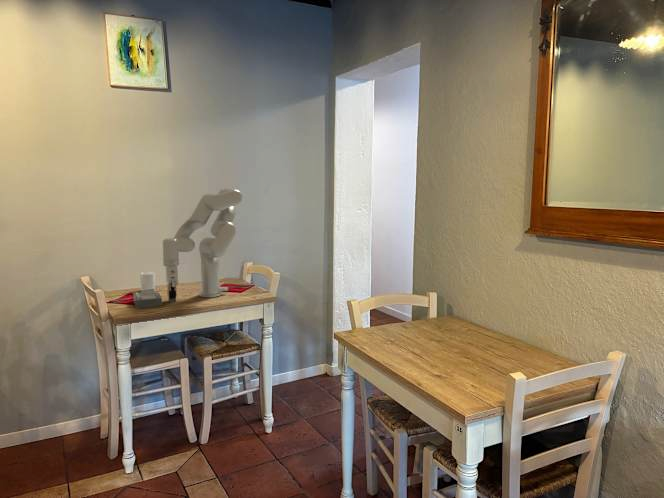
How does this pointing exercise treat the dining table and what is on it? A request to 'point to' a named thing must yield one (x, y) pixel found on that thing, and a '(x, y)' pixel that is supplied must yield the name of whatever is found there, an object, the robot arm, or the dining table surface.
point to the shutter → (147, 294)
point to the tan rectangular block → (168, 294)
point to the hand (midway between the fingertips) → (172, 296)
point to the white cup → (147, 280)
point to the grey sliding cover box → (147, 301)
